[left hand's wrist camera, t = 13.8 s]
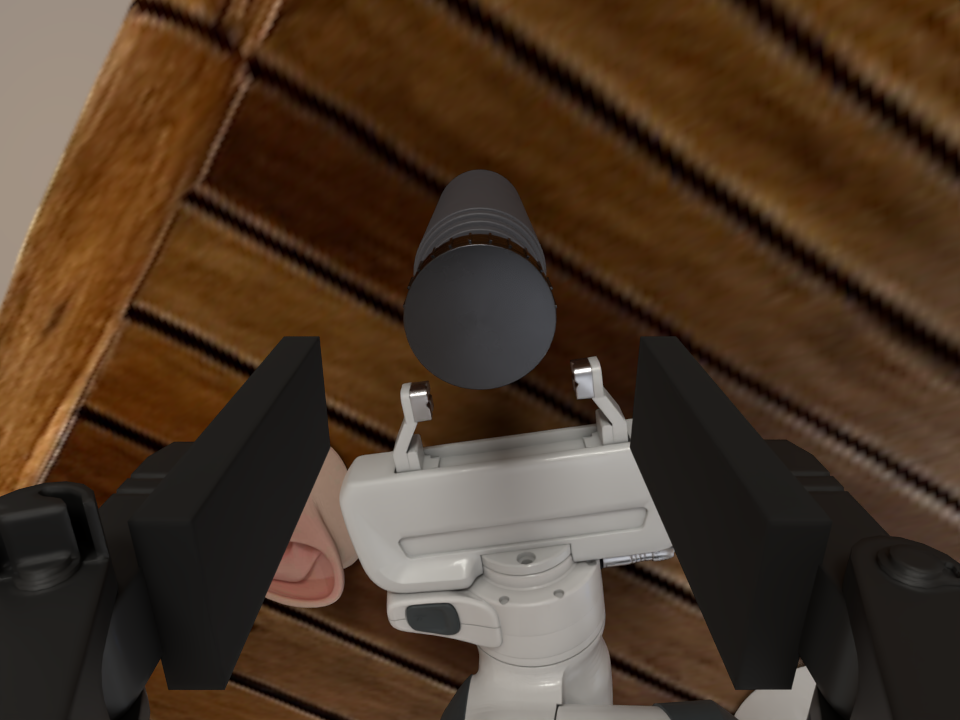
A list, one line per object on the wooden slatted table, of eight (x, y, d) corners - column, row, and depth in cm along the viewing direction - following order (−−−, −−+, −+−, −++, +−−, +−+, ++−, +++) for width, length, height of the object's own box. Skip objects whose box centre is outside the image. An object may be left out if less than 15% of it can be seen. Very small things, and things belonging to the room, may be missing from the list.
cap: (431, 384, 22) (427, 406, 20) (389, 253, 20) (381, 265, 18) (565, 352, 21) (572, 371, 20) (534, 214, 19) (538, 224, 18)
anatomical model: (158, 440, 39) (348, 448, 39) (186, 411, 42) (359, 418, 43) (185, 611, 44) (354, 617, 44) (208, 572, 47) (363, 578, 47)
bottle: (450, 264, 39) (424, 407, 20) (427, 182, 37) (375, 258, 19) (530, 243, 38) (577, 370, 20) (510, 159, 37) (542, 213, 18)
